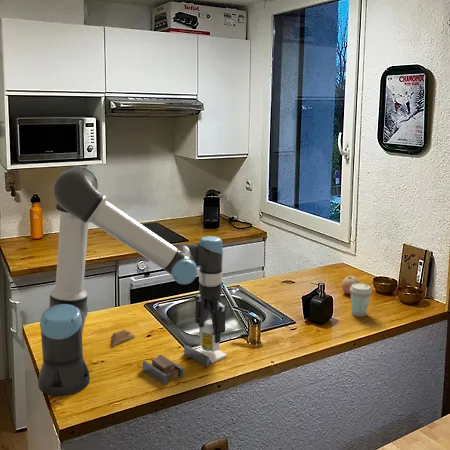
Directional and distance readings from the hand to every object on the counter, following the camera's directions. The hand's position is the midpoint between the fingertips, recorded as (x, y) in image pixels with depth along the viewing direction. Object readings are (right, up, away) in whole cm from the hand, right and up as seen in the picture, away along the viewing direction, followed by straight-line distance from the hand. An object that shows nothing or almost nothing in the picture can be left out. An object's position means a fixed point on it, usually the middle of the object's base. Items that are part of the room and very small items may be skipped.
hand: (209, 347), depth 187 cm
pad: (0, -3, +1) cm, 3 cm away
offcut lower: (-14, -6, -12) cm, 19 cm away
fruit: (+62, +11, +61) cm, 87 cm away
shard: (-31, 0, +11) cm, 33 cm away
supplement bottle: (0, -1, 0) cm, 0 cm away
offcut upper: (-14, -4, -13) cm, 20 cm away
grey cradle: (-11, -5, -9) cm, 15 cm away
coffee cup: (+60, +5, +38) cm, 71 cm away
